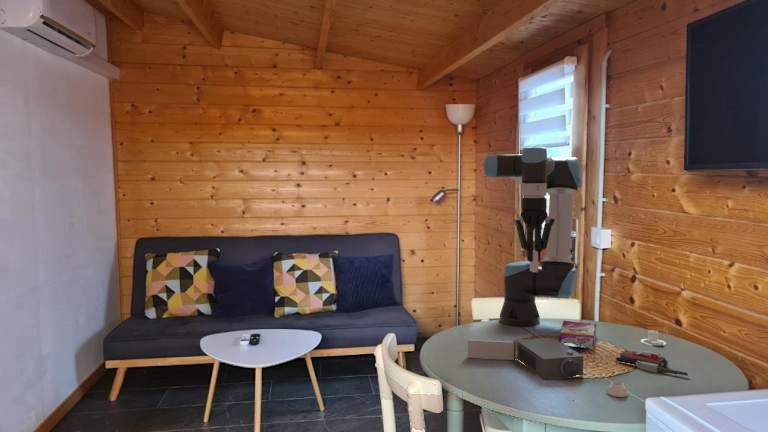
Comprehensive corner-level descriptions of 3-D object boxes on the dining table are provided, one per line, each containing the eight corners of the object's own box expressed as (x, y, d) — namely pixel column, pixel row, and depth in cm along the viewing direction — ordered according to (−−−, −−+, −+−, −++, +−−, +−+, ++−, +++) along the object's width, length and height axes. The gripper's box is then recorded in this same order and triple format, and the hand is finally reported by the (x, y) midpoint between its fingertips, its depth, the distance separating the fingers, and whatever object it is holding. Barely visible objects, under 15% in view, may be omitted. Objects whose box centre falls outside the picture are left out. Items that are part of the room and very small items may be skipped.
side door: (515, 359, 176) (515, 340, 175) (515, 360, 174) (516, 342, 174) (467, 356, 179) (467, 338, 178) (467, 357, 177) (467, 339, 177)
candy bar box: (596, 322, 199) (595, 335, 183) (596, 336, 199) (594, 350, 184) (563, 319, 203) (559, 332, 188) (562, 333, 203) (558, 346, 188)
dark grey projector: (516, 359, 176) (516, 338, 175) (552, 356, 178) (552, 336, 177) (546, 382, 156) (546, 359, 156) (586, 379, 158) (586, 355, 158)
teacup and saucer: (664, 349, 186) (664, 336, 185) (638, 345, 190) (638, 333, 190) (667, 342, 193) (667, 330, 193) (642, 338, 197) (642, 327, 197)
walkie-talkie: (613, 365, 170) (686, 380, 158) (613, 351, 170) (687, 364, 157) (622, 358, 177) (694, 371, 164) (622, 344, 177) (694, 357, 164)
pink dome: (629, 399, 145) (626, 391, 149) (629, 387, 144) (626, 380, 149) (608, 397, 146) (605, 390, 151) (608, 386, 146) (606, 379, 151)
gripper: (519, 198, 172) (518, 274, 174) (559, 196, 174) (558, 272, 176) (509, 196, 179) (509, 270, 181) (548, 195, 181) (547, 268, 183)
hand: (533, 271), depth 179 cm, fingers closed
